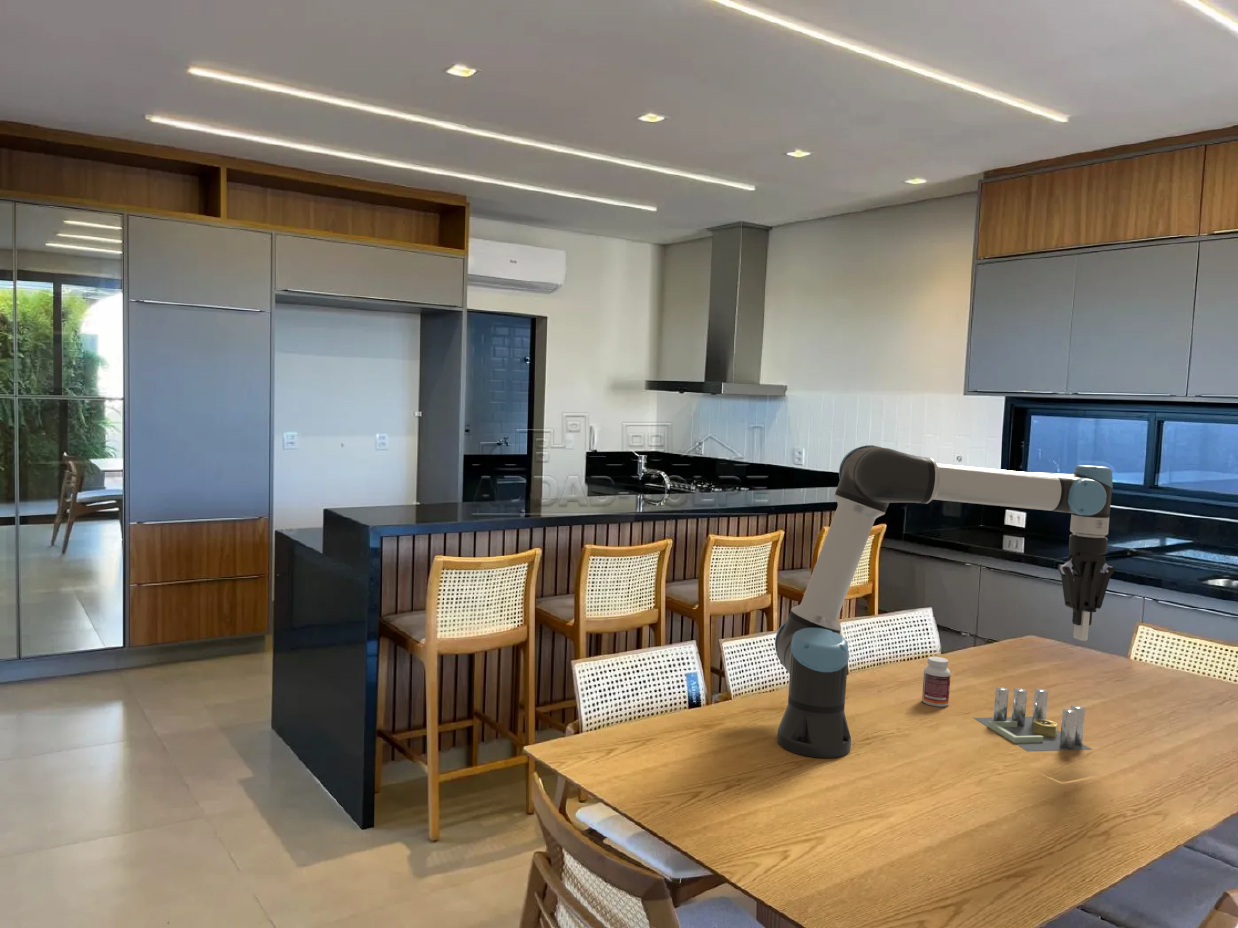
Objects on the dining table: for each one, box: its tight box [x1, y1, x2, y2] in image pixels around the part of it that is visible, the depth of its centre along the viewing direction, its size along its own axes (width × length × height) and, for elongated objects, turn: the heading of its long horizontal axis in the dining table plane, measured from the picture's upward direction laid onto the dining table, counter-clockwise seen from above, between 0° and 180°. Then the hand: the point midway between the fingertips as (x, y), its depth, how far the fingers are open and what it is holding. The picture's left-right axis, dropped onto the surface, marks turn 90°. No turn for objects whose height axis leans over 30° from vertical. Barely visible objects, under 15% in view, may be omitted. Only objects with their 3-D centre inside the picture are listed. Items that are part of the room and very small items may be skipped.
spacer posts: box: [992, 686, 1086, 751], centre depth 198 cm, size 12×18×8 cm
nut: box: [1032, 718, 1059, 738], centre depth 199 cm, size 5×5×3 cm
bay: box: [986, 721, 1043, 744], centre depth 197 cm, size 7×10×1 cm
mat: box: [973, 716, 1093, 752], centre depth 199 cm, size 16×20×1 cm
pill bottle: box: [921, 656, 952, 708], centre depth 218 cm, size 6×6×11 cm
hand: (1080, 639), depth 199 cm, fingers closed
